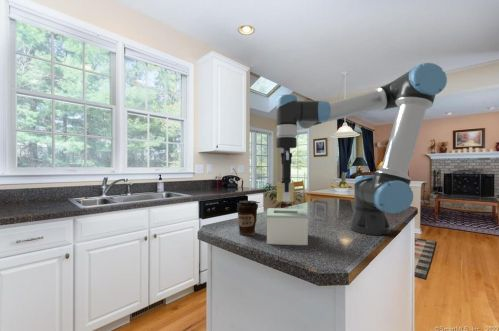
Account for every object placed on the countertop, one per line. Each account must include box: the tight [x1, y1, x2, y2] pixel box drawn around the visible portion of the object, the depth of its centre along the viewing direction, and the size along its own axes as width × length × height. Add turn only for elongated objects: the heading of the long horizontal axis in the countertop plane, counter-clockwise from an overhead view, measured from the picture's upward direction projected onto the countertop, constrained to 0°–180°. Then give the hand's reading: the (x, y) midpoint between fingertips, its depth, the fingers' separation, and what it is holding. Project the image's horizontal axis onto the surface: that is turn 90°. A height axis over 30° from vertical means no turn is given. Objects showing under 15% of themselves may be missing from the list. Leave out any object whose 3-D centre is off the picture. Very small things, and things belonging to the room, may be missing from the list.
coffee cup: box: [236, 200, 259, 236], centre depth 96 cm, size 9×8×13 cm
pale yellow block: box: [276, 181, 295, 203], centre depth 90 cm, size 6×3×7 cm, turn 85°
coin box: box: [266, 207, 309, 246], centre depth 90 cm, size 14×14×10 cm
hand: (286, 200), depth 90 cm, fingers closed on pale yellow block, 3 cm apart
